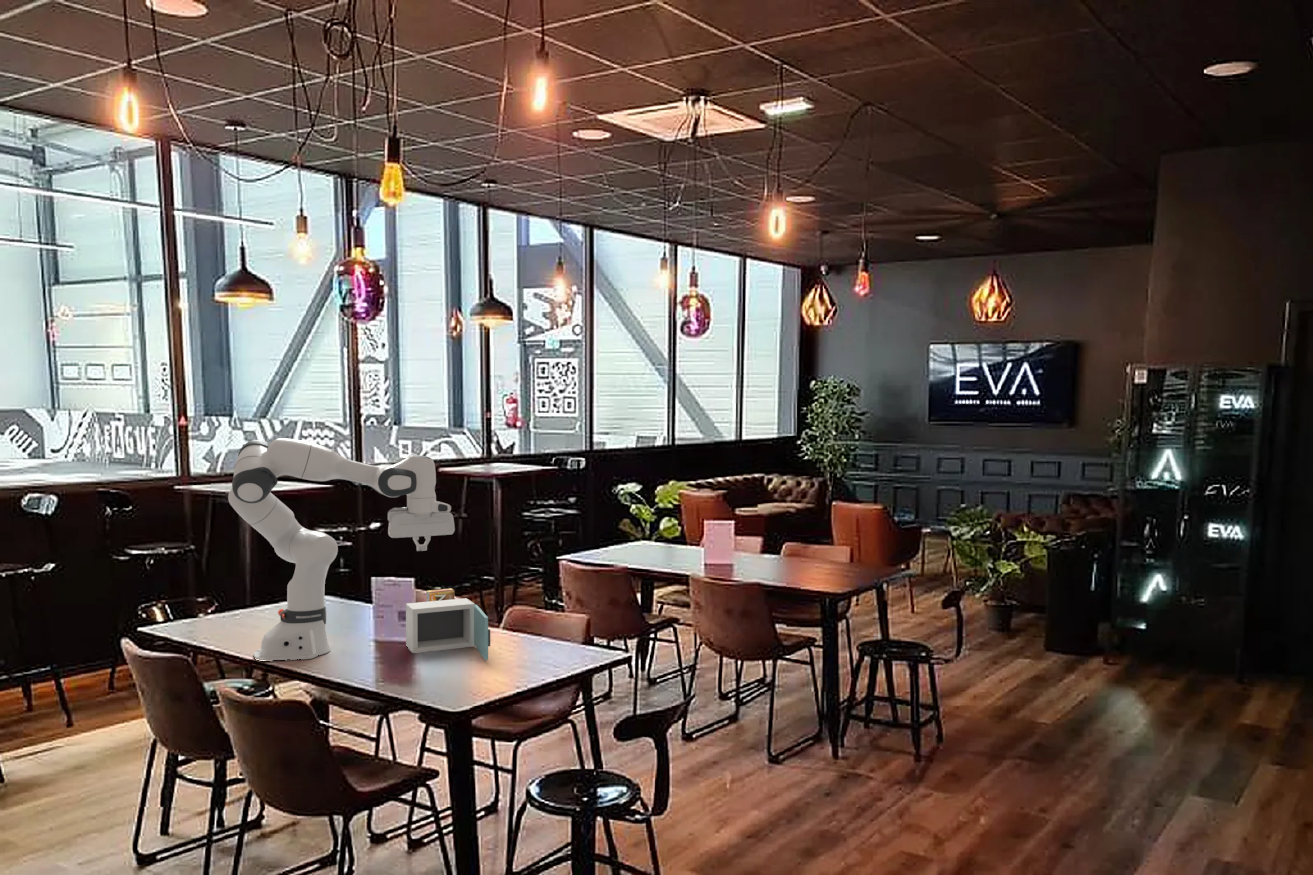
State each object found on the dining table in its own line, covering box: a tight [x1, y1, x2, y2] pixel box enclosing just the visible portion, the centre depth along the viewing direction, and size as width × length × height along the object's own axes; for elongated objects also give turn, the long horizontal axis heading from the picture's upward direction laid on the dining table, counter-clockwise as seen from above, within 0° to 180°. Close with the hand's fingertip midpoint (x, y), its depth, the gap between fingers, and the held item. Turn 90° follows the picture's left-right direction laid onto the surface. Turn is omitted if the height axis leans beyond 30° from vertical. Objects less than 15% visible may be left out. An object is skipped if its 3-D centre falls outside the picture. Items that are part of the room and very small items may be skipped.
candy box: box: [425, 588, 456, 602], centre depth 320 cm, size 9×4×15 cm, turn 121°
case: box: [405, 597, 476, 654], centre depth 304 cm, size 20×10×14 cm, turn 117°
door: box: [473, 604, 491, 661], centre depth 294 cm, size 20×2×13 cm, turn 21°
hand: (421, 550), depth 292 cm, fingers closed
